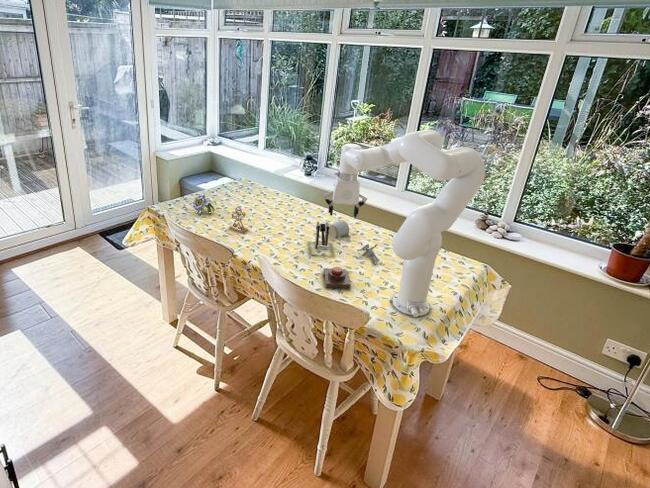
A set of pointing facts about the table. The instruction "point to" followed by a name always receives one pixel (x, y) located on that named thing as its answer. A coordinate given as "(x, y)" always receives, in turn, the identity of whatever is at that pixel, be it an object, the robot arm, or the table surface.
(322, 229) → the lever
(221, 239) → the table surface
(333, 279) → the button block
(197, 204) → the passion flower
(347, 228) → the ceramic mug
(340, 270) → the button
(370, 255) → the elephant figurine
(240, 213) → the brown openwork figurine
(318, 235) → the black rod frame
